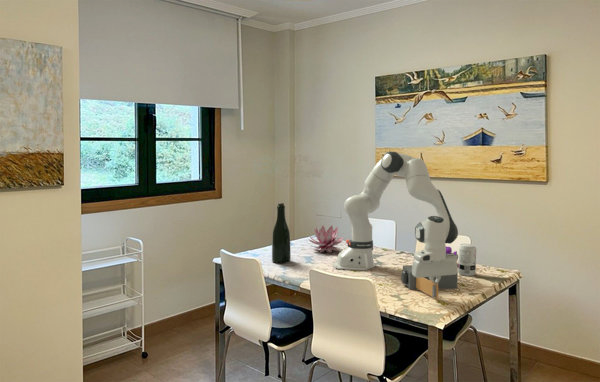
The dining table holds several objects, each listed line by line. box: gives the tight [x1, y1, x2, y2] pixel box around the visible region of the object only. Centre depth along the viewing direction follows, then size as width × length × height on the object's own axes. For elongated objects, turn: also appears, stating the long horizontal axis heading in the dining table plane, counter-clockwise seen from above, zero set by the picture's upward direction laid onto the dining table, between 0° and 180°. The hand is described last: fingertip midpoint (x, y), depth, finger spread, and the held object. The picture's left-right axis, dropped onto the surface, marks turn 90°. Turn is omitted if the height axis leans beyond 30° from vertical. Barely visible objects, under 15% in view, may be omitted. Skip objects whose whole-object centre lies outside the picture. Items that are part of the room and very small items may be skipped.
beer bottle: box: [271, 202, 292, 264], centre depth 272 cm, size 10×10×33 cm
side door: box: [416, 277, 439, 300], centre depth 213 cm, size 16×2×6 cm, turn 18°
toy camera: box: [446, 246, 459, 261], centre depth 266 cm, size 11×14×10 cm
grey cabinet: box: [400, 264, 459, 291], centre depth 228 cm, size 24×12×8 cm, turn 94°
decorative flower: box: [309, 225, 344, 253], centre depth 297 cm, size 21×21×15 cm
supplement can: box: [457, 243, 477, 277], centre depth 246 cm, size 8×8×15 cm
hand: (434, 286), depth 210 cm, fingers closed
